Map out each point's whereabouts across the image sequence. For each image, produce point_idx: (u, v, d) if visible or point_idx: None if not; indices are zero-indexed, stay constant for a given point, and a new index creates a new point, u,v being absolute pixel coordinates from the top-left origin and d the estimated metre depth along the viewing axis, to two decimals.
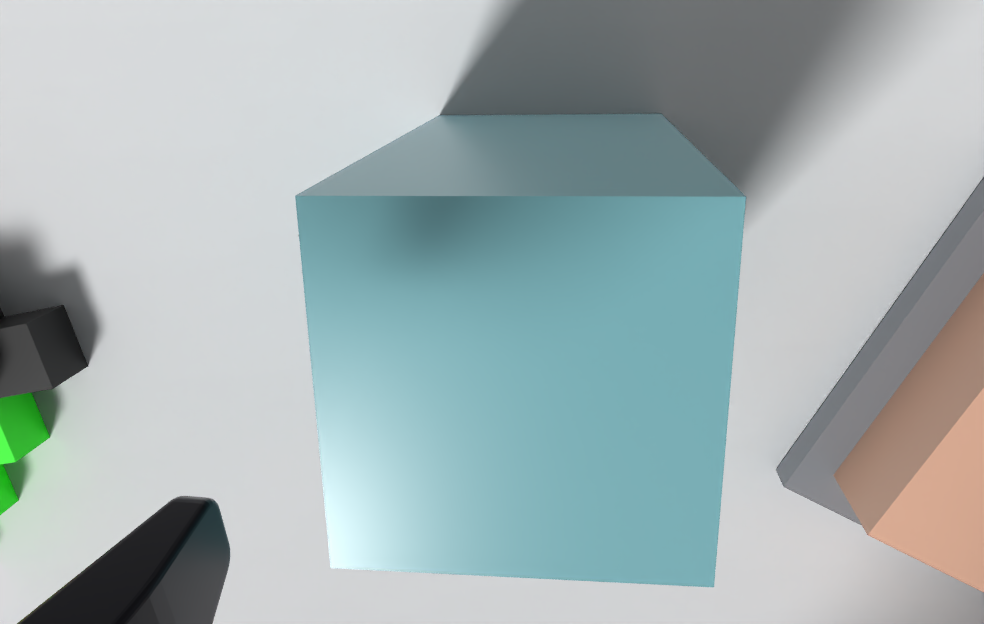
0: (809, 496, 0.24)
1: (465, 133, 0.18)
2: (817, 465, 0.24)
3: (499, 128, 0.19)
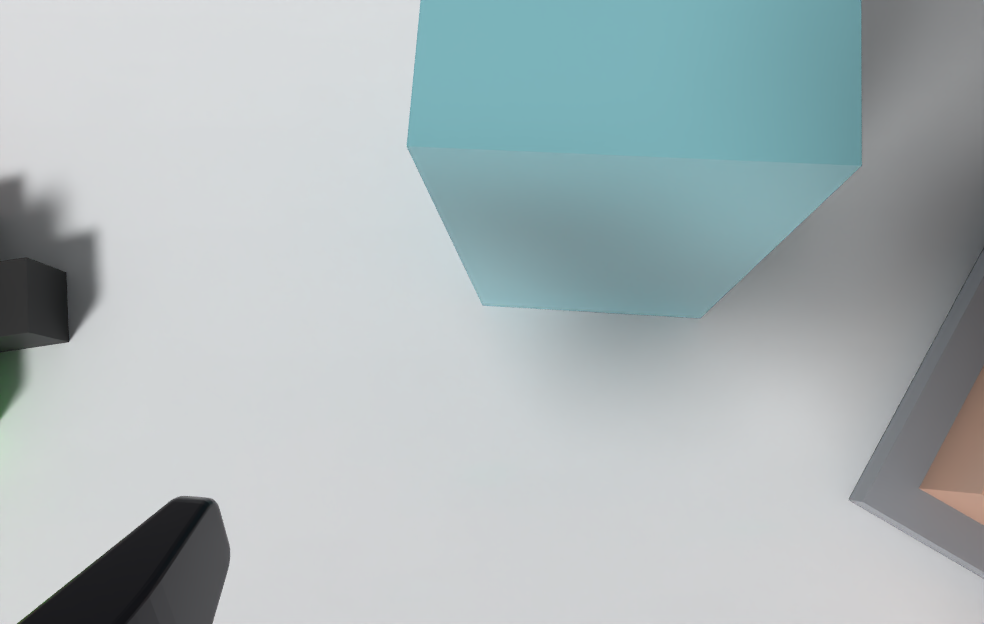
0: (894, 515, 0.20)
1: None
2: (899, 474, 0.20)
3: None
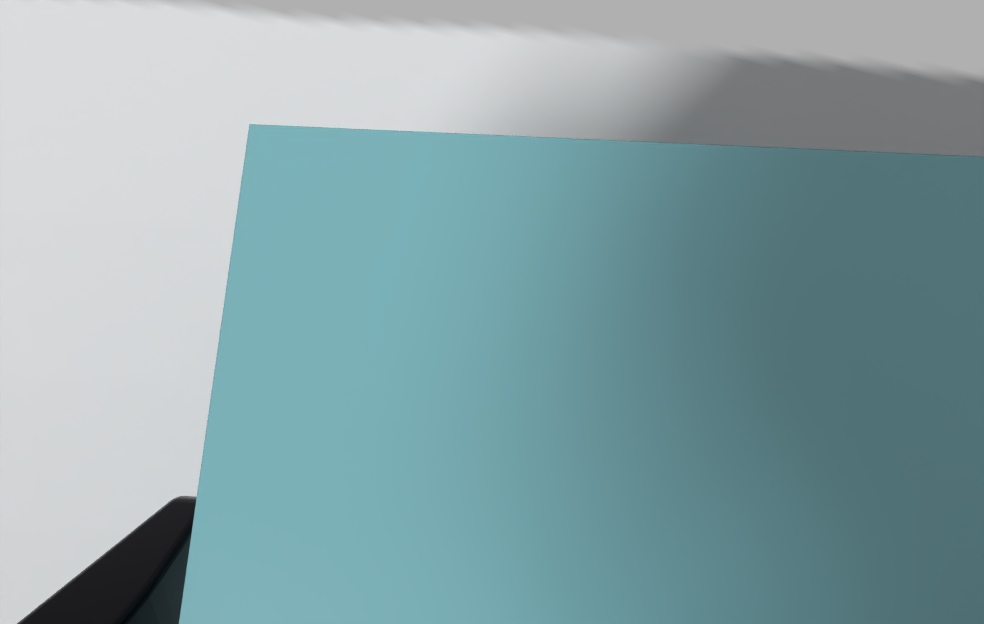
0: None
1: None
2: None
3: None
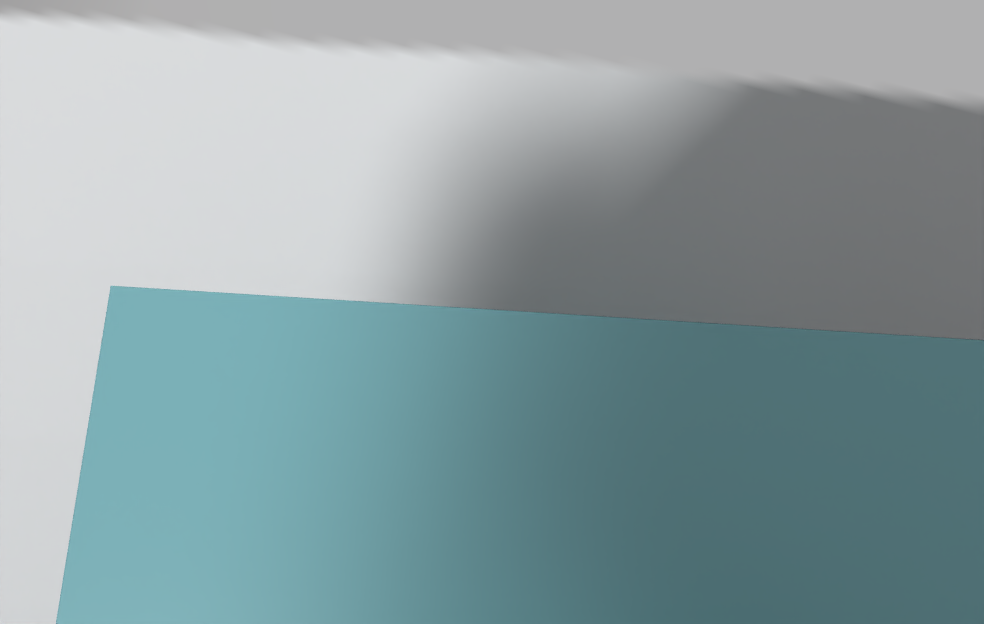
0: None
1: None
2: None
3: None
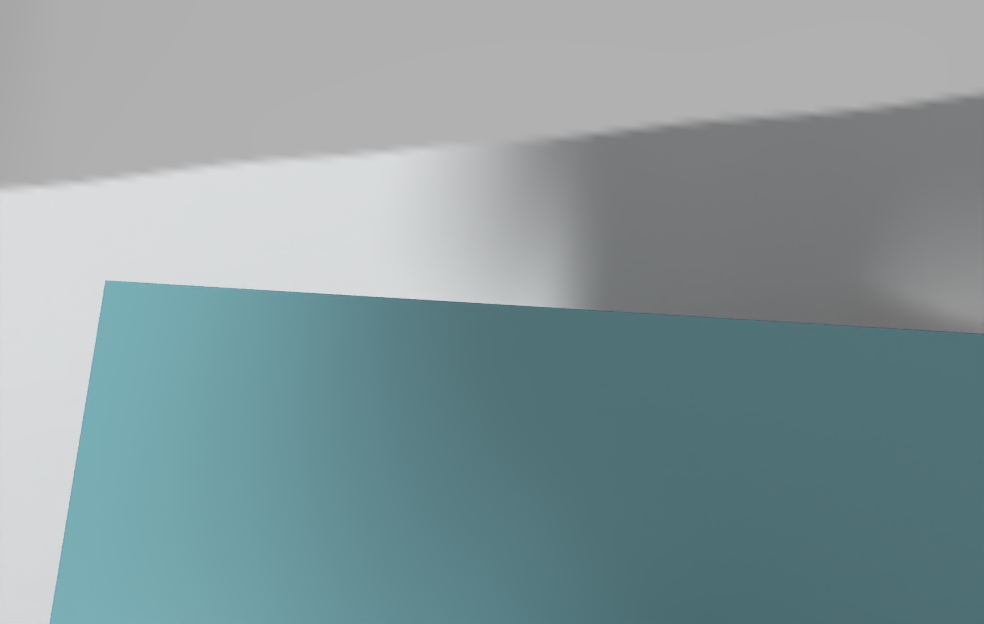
0: None
1: None
2: None
3: None
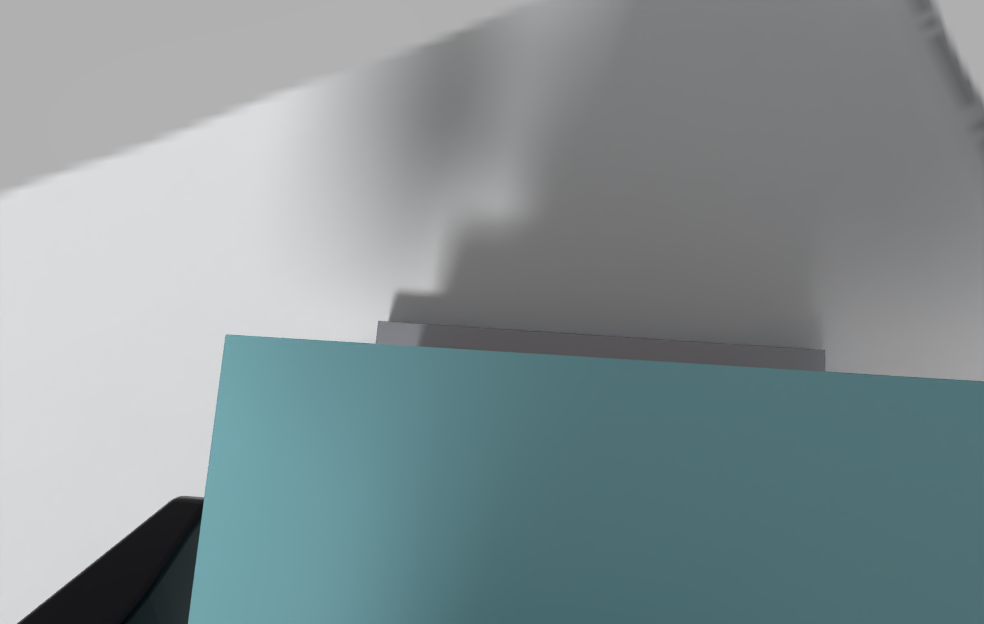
0: None
1: None
2: None
3: None
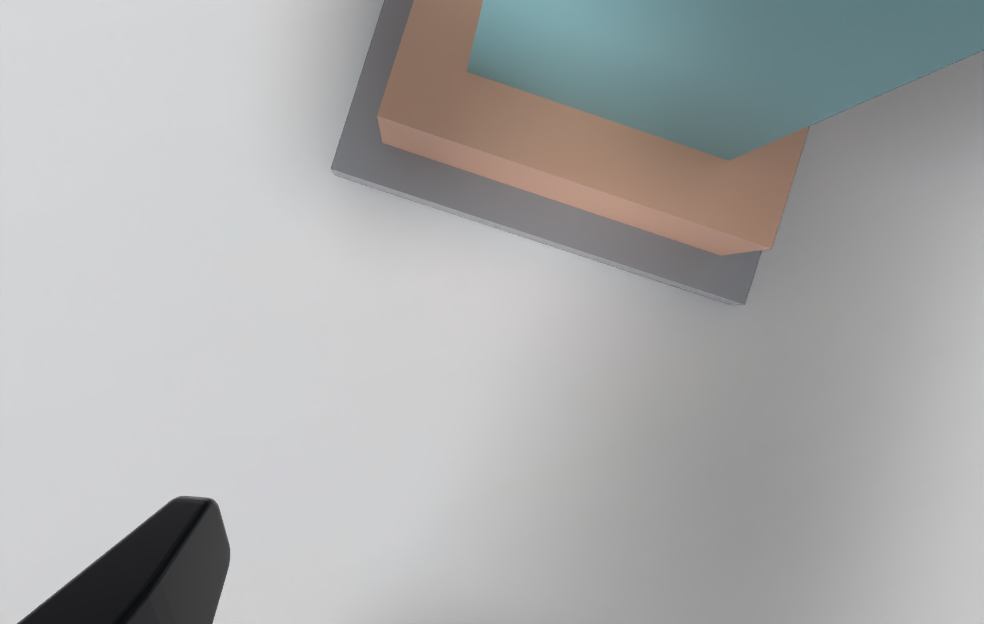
0: (363, 175, 0.20)
1: None
2: (361, 133, 0.20)
3: None
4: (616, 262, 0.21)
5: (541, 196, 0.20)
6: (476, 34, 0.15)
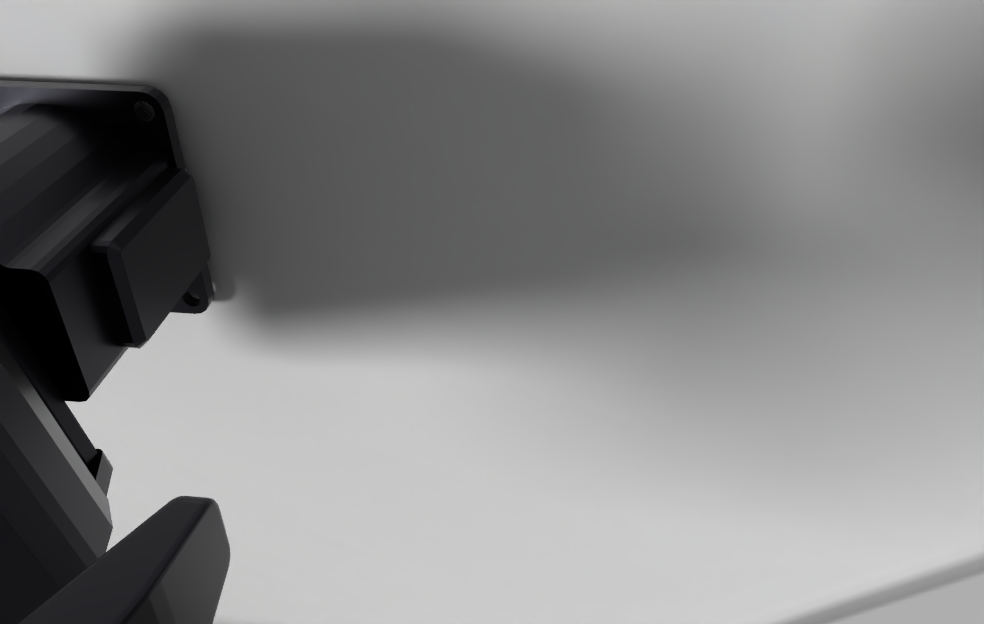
0: None
1: None
2: None
3: None
4: None
5: None
6: None
